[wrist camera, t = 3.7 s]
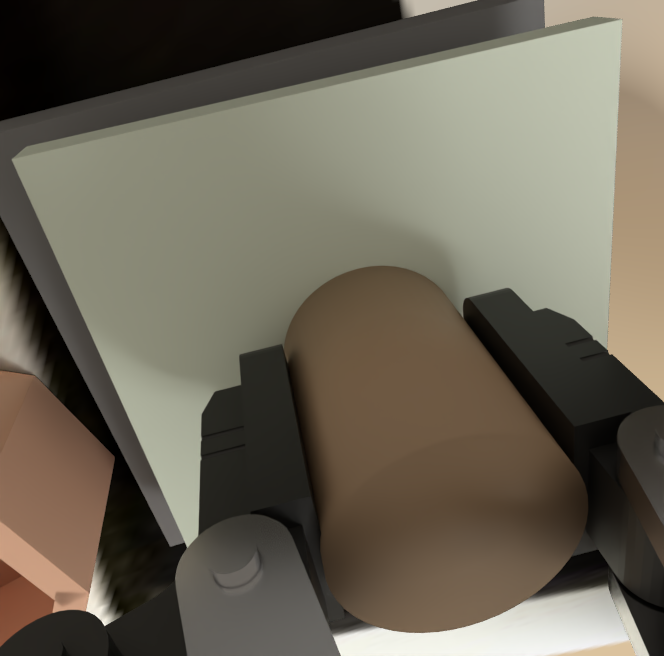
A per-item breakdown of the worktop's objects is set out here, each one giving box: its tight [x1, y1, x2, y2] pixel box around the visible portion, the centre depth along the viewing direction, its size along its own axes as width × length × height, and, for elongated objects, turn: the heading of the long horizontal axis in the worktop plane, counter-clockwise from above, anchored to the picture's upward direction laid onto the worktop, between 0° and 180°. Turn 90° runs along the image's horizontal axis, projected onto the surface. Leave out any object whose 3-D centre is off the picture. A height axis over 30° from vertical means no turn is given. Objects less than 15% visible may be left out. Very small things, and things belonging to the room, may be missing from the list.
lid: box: [12, 17, 622, 633], centre depth 10 cm, size 9×9×5 cm
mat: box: [0, 0, 545, 547], centre depth 13 cm, size 10×10×2 cm
